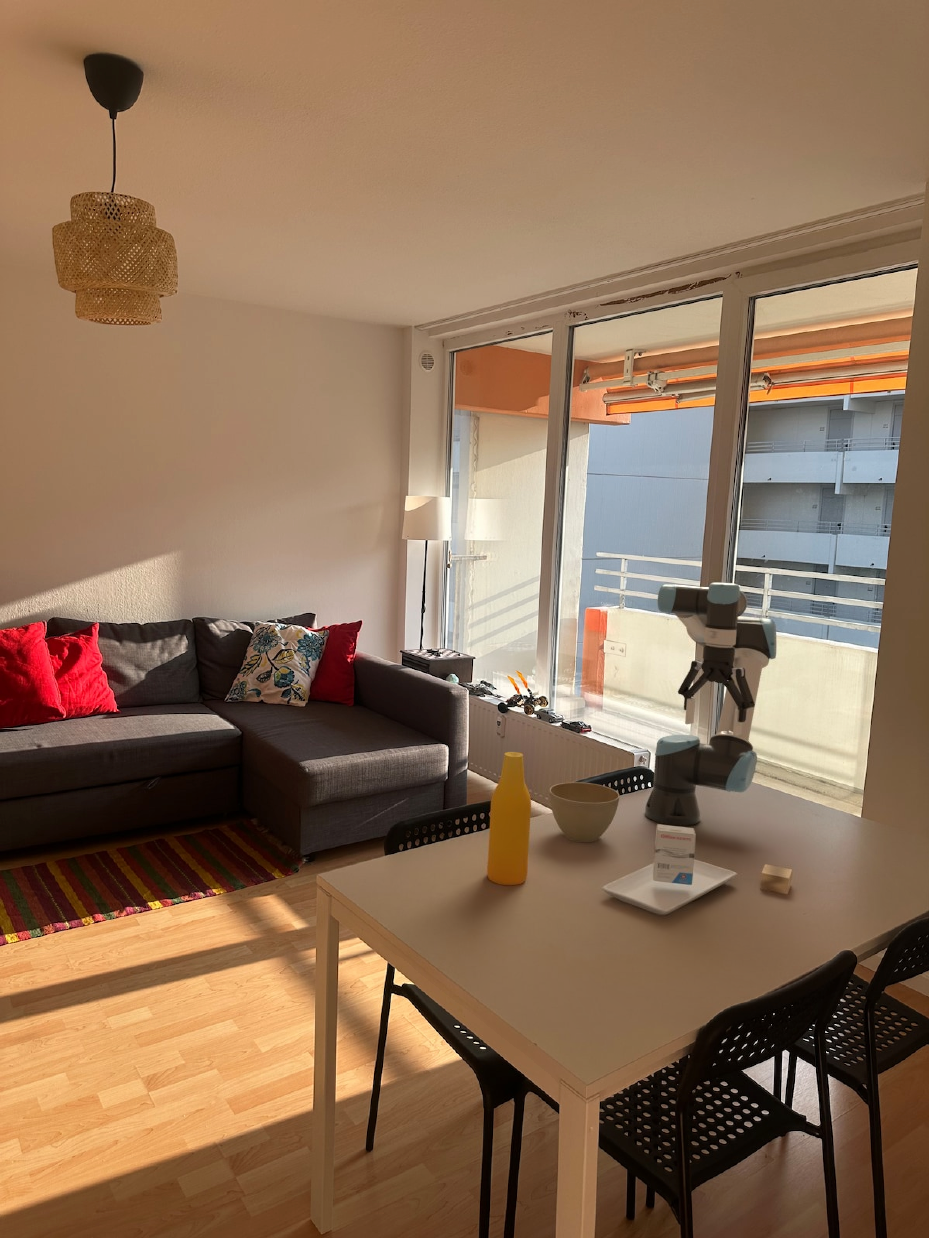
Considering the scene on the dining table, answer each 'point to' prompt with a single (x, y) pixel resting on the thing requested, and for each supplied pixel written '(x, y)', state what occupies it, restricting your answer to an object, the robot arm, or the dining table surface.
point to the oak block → (776, 879)
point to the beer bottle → (509, 824)
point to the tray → (666, 888)
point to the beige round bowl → (583, 809)
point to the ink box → (674, 854)
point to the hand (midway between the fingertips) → (712, 729)
